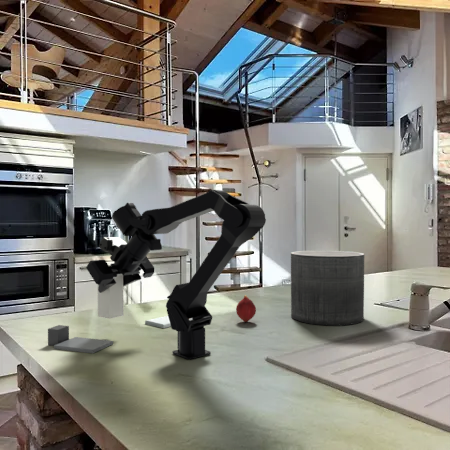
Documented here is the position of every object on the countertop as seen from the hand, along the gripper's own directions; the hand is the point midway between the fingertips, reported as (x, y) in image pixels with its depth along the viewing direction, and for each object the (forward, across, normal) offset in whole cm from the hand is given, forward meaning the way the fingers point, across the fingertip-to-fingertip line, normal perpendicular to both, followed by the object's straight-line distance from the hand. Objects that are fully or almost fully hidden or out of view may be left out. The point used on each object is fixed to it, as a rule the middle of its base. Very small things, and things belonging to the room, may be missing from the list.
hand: (106, 290), depth 119 cm
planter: (-19, -53, +37) cm, 67 cm away
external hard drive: (+7, -21, +11) cm, 25 cm away
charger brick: (+4, 0, +6) cm, 7 cm away
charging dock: (+8, +10, +9) cm, 16 cm away
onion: (-7, -34, +24) cm, 42 cm away
